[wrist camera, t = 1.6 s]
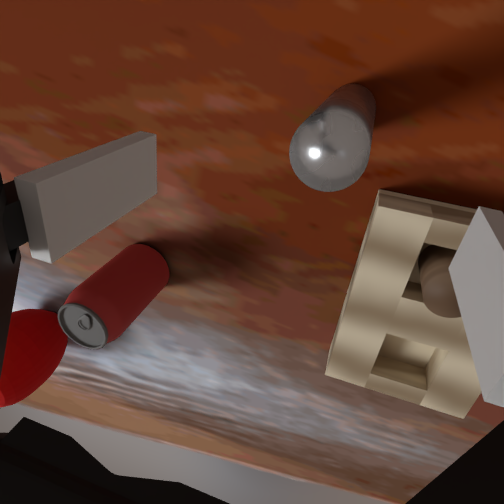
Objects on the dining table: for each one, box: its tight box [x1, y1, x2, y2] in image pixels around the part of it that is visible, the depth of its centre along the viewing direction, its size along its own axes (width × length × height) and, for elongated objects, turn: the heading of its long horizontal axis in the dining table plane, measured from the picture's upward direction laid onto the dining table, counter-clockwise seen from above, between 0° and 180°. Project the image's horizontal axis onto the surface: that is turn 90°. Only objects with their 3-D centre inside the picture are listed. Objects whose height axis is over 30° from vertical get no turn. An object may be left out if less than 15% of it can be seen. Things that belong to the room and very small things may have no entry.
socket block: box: [325, 189, 482, 419], centre depth 34 cm, size 20×14×6 cm
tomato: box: [0, 309, 68, 407], centre depth 52 cm, size 13×11×14 cm
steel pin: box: [289, 84, 376, 192], centre depth 25 cm, size 4×4×14 cm
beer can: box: [58, 244, 169, 349], centre depth 41 cm, size 7×7×12 cm
